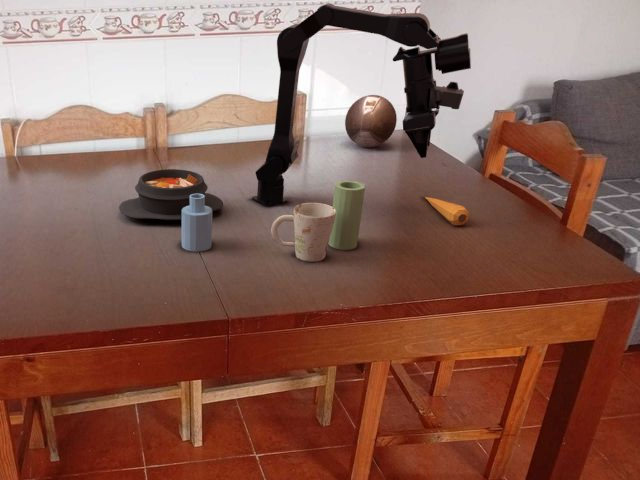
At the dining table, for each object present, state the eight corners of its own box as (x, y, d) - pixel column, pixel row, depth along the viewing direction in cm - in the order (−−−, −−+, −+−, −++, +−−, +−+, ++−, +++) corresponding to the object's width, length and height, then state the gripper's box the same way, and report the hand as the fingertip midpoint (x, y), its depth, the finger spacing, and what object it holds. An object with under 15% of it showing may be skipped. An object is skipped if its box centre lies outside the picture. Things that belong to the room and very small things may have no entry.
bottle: (176, 243, 150) (176, 194, 144) (201, 238, 153) (202, 189, 147) (191, 253, 145) (191, 203, 140) (216, 247, 148) (218, 197, 142)
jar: (322, 242, 150) (329, 183, 143) (344, 236, 153) (351, 178, 146) (341, 252, 146) (349, 191, 139) (362, 246, 148) (371, 186, 141)
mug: (330, 265, 140) (336, 218, 135) (267, 261, 142) (270, 214, 137) (331, 249, 147) (336, 204, 142) (271, 245, 149) (274, 200, 144)
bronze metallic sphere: (343, 152, 209) (349, 100, 201) (341, 139, 221) (347, 89, 214) (394, 154, 207) (403, 101, 199) (390, 140, 219) (397, 91, 211)
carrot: (465, 230, 157) (475, 212, 156) (448, 223, 156) (459, 205, 154) (427, 208, 175) (436, 191, 173) (412, 202, 174) (421, 185, 172)
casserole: (208, 195, 176) (209, 162, 172) (234, 220, 161) (236, 185, 157) (111, 205, 170) (110, 171, 166) (129, 232, 155) (127, 196, 151)
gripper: (458, 78, 136) (463, 157, 143) (461, 63, 151) (465, 135, 158) (398, 90, 141) (406, 165, 148) (407, 73, 156) (414, 143, 163)
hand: (425, 151), depth 154 cm, fingers open, 9 cm apart
